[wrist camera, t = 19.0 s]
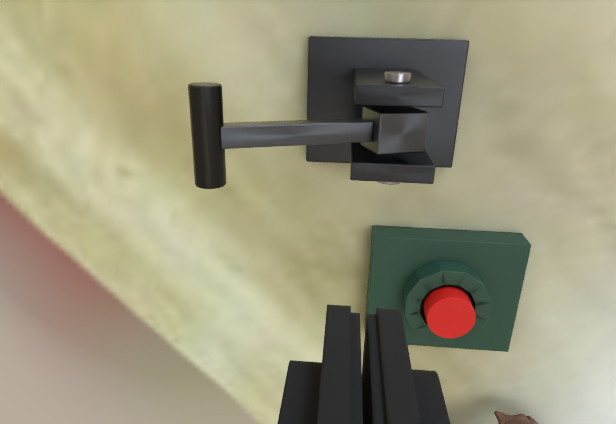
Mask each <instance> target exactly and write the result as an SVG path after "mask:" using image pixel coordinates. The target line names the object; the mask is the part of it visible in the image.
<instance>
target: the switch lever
mask: <svg viewBox="0 0 616 424" xmlns="http://www.w3.org/2000/svg"><path fill="white" fill-rule="evenodd" d="M188 90H189V104H190V119H191V133H192V147H193V161H194V175H195V185H196V186H197V187H199V188H203V189H215V188H220V187H223V186H224V185H225V184H226V168H225V149H230V148H251V147H272V146H294V145H315V144H336V143H358V142H361V145H362V146H364V147H366V148H367V149H369V150H370V151H372V152H374V153H375V154H377V155H382V154H401V153H419V152H424V145H425V137H426V128H427V119H428V112H426V111H423V110H420V109H417V108H414V107H406V106H364V107H363V113H362V118H361V119H330V120H299V121H268V122H237V123H223V102H222V85H221V84H218V83H192V84H189V85H188Z"/></svg>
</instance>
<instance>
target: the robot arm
mask: <svg viewBox="0 0 616 424" xmlns="http://www.w3.org/2000/svg"><path fill="white" fill-rule="evenodd" d="M278 424H450V421H449V417H448V413H447V409H446V405H445V401H444V397H443V393H442V389H441V385H440V381H439V377H438V374H437V373H436V371H426V370H412V369H411V364H410V358H409V352H408V347H407V341H406V335H405V330H404V324H403V318H402V313H401V310H400V309H385V308H376V314H367V317H366V329H365V342H364V355H363V367H362V373H361V339H360V313H351V306H339V305H327V314H326V325H325V337H324V348H323V360H322V363H318V362H304V361H291V360H290V362H289V366H288V371H287V376H286V382H285V387H284V392H283V398H282V403H281V409H280V414H279V419H278Z"/></svg>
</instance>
